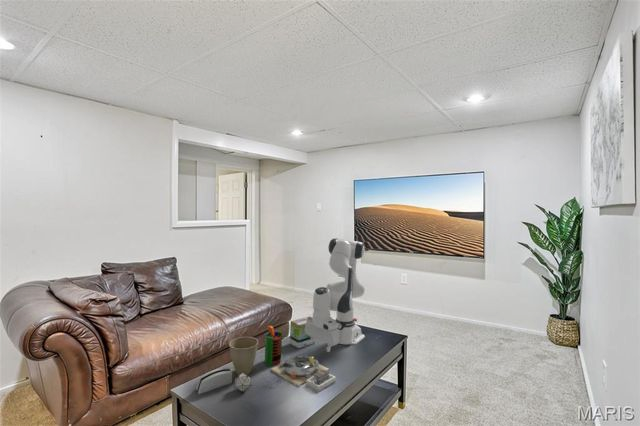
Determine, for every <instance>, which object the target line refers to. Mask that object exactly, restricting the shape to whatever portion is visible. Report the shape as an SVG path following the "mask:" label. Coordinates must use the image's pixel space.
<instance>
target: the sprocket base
mask: <svg viewBox="0 0 640 426" xmlns="http://www.w3.org/2000/svg"><path fill="white" fill-rule="evenodd" d="M303 356H304V355H299V356H298V357H303ZM317 366H319V372H320V371H322V370H323V369H324V370H326V371H328V372H329V370H330V368H329V367H325V366H324V365H322V364H320V363H318V365H317ZM281 368H282V367H281V364H278V365H275V366H274V367H272V368H270V372H272V373H274V374H276V375H278V376H279V377H281V378H282V379H285V380H287V381H288V382H289V383H291V384H293V385H295V386H296V387H301V386H303V385H304V384H306V380H307V379H309V378H311V377H313V376H314V374H316V373H317V372H315V373H313V374H312V375H311V377H309V378H306V377H296V378H290V375H287V374H286V373H285V374H282V373H281Z"/></svg>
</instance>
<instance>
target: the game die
mask: <svg viewBox="0 0 640 426" xmlns="http://www.w3.org/2000/svg"><path fill="white" fill-rule="evenodd" d="M251 378H252V376H249V374H247V375H246V374H244V373H243V371H242V373H241V374H240V375H238V376H236V378H233V380H234V387H233V389H235V388H236V389H237V390H238V391H241V394H244V391H246V390H247V389H248V388H249V387H252V384H251Z"/></svg>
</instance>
